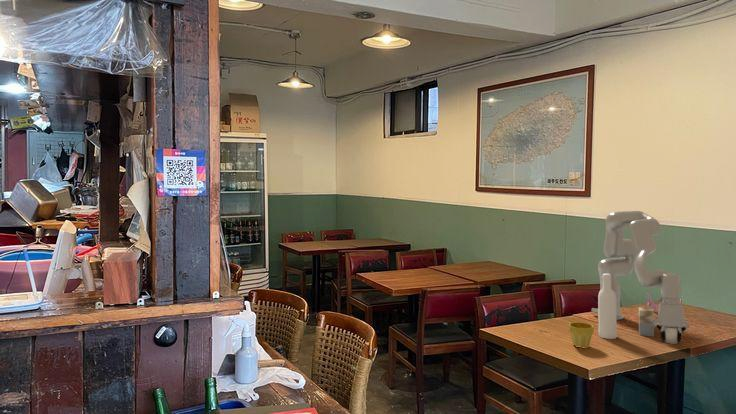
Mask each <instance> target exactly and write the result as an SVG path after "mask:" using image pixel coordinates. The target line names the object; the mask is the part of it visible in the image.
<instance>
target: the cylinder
mask: <svg viewBox="0 0 736 414" xmlns="http://www.w3.org/2000/svg"><path fill="white" fill-rule="evenodd" d="M664 332H665V340H664V341H665V342H664V343H666V344H669V343H670V344H671V345H677V344H678V328H677V327H668V326H665V328H664ZM670 344H669V345H670Z"/></svg>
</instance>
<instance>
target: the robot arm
mask: <svg viewBox="0 0 736 414" xmlns="http://www.w3.org/2000/svg"><path fill="white" fill-rule="evenodd" d="M624 229H628V231H629V234H630V236H631V238H632V239H630V238H624V236H625V234H624ZM661 231H662V227H661V224H660V222H659V221H658V220H657V219H656V218H654V217H653V216H651V215H649V214H647V213H645V212H643V211H642V210H641V211H640V210H630V211H629V210H625V211H613V212H611V213H610V212H609V213H608V215H606V218H605V237H604V244H603V254H604V255H605V257H608V258H604V259H602V260H600V261H599V262H598V264H597V269H598V274H599V275H598V276H599V282H600V284H599V285H600V287H599V288H600V290H602V289H603V278H602V276H603V274H611V289H612V290H613V291H614V292H615V295H616V320H617V321H619V320H623V319H624V318H625V317H624V315H623V314H622V313H621V285H620V284H621V283H620V282H619V280H618V279H617V277H621V276H624V277H625V276H628V275H631V274H632V272H633V270H634V272H635V275H636V278H637V280H638V281H639V284H640V285H641V286H643V287H645V288H655V287H658V288H660V297H657V299H656V300H657V301H659V304H658V308H659V309H657V317H656V318H654V321H653V322H652V324H653V325H654V327H656V328H657V329H658V330H659V331H660V338H661V339H662V341H664V340H665V332H664V328H665V326H668V327H677V328H678V342H679V343H680V342H681V340H682V333H684V332H685V331H686V330H687V329H689V328H690V327H691V324H690V323H688V321H687V320H686V319H685V311H684V310H685V309H684V306H683V303H682V302H681V276H680V274H677V273H673V272H671V271H668V270H666V269H658V270H653V269H652V270H648V268H647V266H646V258H647V256H650V254H653V253H655V252H656V250H657V249H658V248H657V243H656V241H655V239H654V237H655V236H658V235H660V233H661ZM653 236H654V237H653ZM636 253H637V254H636ZM600 290H599V291H600ZM591 312H593V313H595V314H598V308H594V307H592V308H591Z"/></svg>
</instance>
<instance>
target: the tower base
mask: <svg viewBox="0 0 736 414" xmlns="http://www.w3.org/2000/svg"><path fill="white" fill-rule="evenodd" d="M638 332H639V333H638V334H639V336H647V337H655V325H653V324H650V323H640V322H639V321H638Z"/></svg>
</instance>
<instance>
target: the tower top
mask: <svg viewBox="0 0 736 414" xmlns="http://www.w3.org/2000/svg"><path fill="white" fill-rule="evenodd" d="M654 320H655V309H654V308H653V307H645V306H644V307H643V306H642V307H641V306H638V323H639V322H640V323H650V324H652V322H653V321H654Z"/></svg>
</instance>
